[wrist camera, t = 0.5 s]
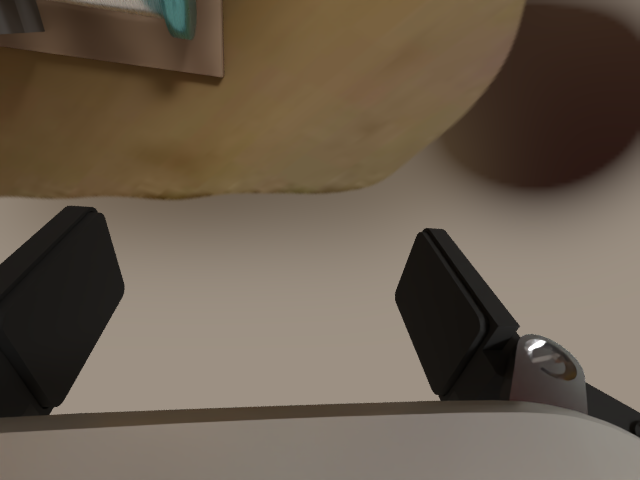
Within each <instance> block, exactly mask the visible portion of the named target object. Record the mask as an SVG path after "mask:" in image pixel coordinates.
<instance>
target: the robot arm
mask: <svg viewBox="0 0 640 480" xmlns="http://www.w3.org/2000/svg"><path fill="white" fill-rule="evenodd" d="M123 294H124V282H123V278H122V275H121V272H120V268H119V265H118V262H117V258H116V254H115V251H114V247H113V244H112V241H111V237H110V234H109V230H108V227H107V223H106V220H105V217H104V215H103V214H102V213H98V212H97V210H96V209H95V208H93V207H81V206H67V207H65V208H64V209H63V210H62V211H60V213H58V214H57V215H56V216H55V217H54V218H53V219H51V220H50V221H49V222H48V223H47V224H46V225H45V226H44V227H42V228H41V229H40V230H39V231H38V232H37V233H36V234H34V235H33V236H32V237H31V238H30V239H29V240H28V241H26V242H25V243H24V244H23V245H22V246H21V247H20V248H18V249H17V250H16V251H15V252H14V253H13V254H12V255H11V256H9V257H8V258H7V259H6V260H5V261H4V262H3V263H1V264H0V480H640V413H639V412H637V411H636V410H634V409H632V408H630V407H628V406H627V405H625V404H623V403H621V402H620V401H618V400H616V399H614V398H612V397H611V396H609V395H607V394H605V393H604V392H602V391H600V390H598V389H597V388H595V387H593V386H591V385H589V384H588V383H586V382H585V375H584V372H583V369H582V367H581V365H580V364H579V362H578V361H577V360H576V358H575V357H574V356H573V355H572V354H571V353H570V352H568V351H567V350H566V349H565V348H563V347H562V346H561V345H559V344H558V343H556V342H554V341H552V340H550V339H548V338H545V337H543V336H540V335H534V334H528V335H524V336H522V337H519V335H518V334H517V332H516V331H517V329H518V328H519V327H520V326H519V324H518V323H517V322H516V321H515V320H514V318H513V317H512V316H511V314H510V313H509V312H508V310H507V309H506V308H505V307H504V305H503V304H502V303H501V301H500V300H499V299H498V298H497V296H496V295H495V294H494V293H493V291H492V290H491V289H490V287H489V286H488V285H487V284H486V282H485V281H484V280H483V279H482V277H481V276H480V275H479V273H478V272H477V271H476V270H475V268H474V267H473V266H472V265H471V263H470V262H469V261H468V259H467V258H466V257H465V255H464V254H463V253H462V252H461V250H460V249H459V248H458V246H457V245H456V244H455V243H454V241H453V240H452V239H451V237H450V236H449V235H448V234H447V232H446V231H445V230H443V229H432V228H426V229H424V230H423V231H422V232H419V233H418V234H417V237H416V239H415V241H414V244H413V247H412V249H411V252H410V255H409V257H408V260H407V263H406V265H405V268H404V271H403V274H402V276H401V279H400V281H399V284H398V287H397V289H396V292H395V301H396V304H397V306H398V309H399V311H400V313H401V316H402V318H403V321H404V323H405V325H406V328H407V330H408V333H409V335H410V338H411V340H412V342H413V345H414V348H415V350H416V352H417V355H418V357H419V360H420V362H421V365H422V367H423V369H424V372H425V374H426V377H427V379H428V382H429V384H430V386H431V389H432V391H433V392H434V393H435V394H436V395H439V398H440V400H441V401H417V402H383V403H349V404H318V405H290V406H261V407H235V408H234V407H233V408H205V409H180V410H154V411H129V412H105V413H79V414H61V415H49V414H50V413H51V411H52V409H53V408H54V407H57V406H59V405H60V404H61V403H62V402H63V401H64V399H65V398H66V395H67V394H68V392H69V390H70V388H71V387H72V385H73V383H74V382H75V380H76V378H77V376H78V375H79V373H80V371H81V369H82V368H83V366H84V364H85V362H86V360H87V359H88V357H89V355H90V353H91V352H92V350H93V348H94V346H95V345H96V343H97V341H98V339H99V337H100V336H101V334H102V332H103V330H104V329H105V327H106V325H107V323H108V321H109V320H110V318H111V316H112V314H113V313H114V311H115V309H116V307H117V306H118V304H119V302H120V300H121V299H122V297H123Z"/></svg>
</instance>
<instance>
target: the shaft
mask: <svg viewBox="0 0 640 480" xmlns="http://www.w3.org/2000/svg"><path fill="white" fill-rule="evenodd" d="M49 1H56V2H62V3H68V4H74V5H80V6H86V7H92V8H98V9H104V10H110V11H116V12H122V13H128V14H134V15H140V16H146V17H152V18H159V19H165V23H166V26H167V29H168V31H169V33H170V35H171V36H172V37H173V38H180V39H186V40H193V39H194V37H195V33H196V22H197V10H196V0H49Z"/></svg>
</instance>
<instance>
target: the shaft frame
mask: <svg viewBox="0 0 640 480" xmlns="http://www.w3.org/2000/svg"><path fill="white" fill-rule="evenodd" d="M196 10H197V22H196V33H195V37H194V39H193V40H186V39H180V38H173V37H172V36H171V35H170V33H169V31H168V29H167V26H166V23H165V19H159V18H152V17H146V16H140V15H134V14H128V13H122V12H116V11H110V10H104V9H98V8H92V7H86V6H80V5H74V4H68V3H62V2H56V1H49V0H0V46H2V47H9V48H16V49H23V50H30V51H38V52H45V53H52V54H59V55H66V56H73V57H80V58H88V59H95V60H102V61H109V62H116V63H123V64H131V65H138V66H145V67H152V68H159V69H166V70H173V71H181V72H188V73H195V74H202V75H209V76H216V77H224V42H223V3H222V0H196Z"/></svg>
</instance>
